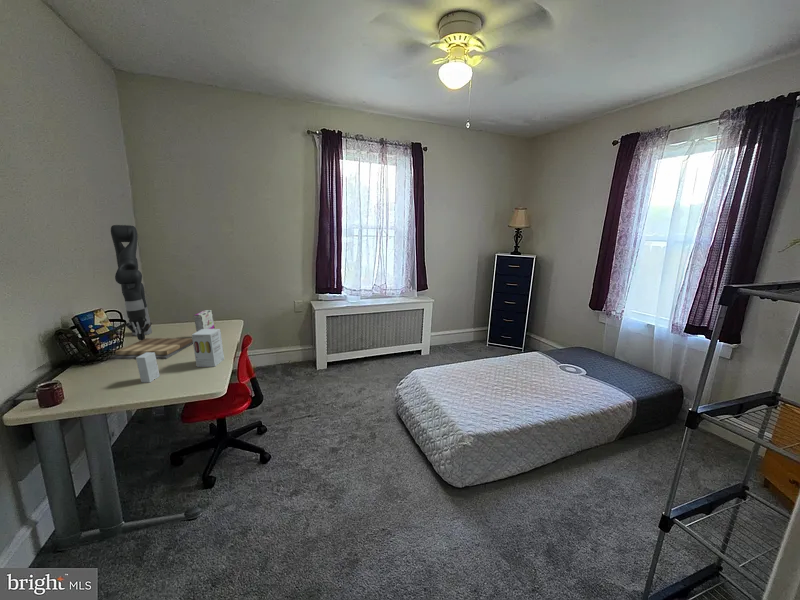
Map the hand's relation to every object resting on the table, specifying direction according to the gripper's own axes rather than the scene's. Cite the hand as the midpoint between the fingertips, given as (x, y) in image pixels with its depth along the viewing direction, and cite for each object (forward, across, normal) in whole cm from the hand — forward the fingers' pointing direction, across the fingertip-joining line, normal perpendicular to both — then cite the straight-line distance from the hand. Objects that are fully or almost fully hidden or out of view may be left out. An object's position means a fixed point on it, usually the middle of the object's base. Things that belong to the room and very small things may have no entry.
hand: (141, 339), depth 175 cm
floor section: (+9, 0, -7) cm, 11 cm away
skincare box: (+9, -25, +28) cm, 38 cm away
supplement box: (+9, -42, +10) cm, 44 cm away
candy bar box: (+9, -17, -27) cm, 34 cm away
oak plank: (+8, 0, -3) cm, 8 cm away
